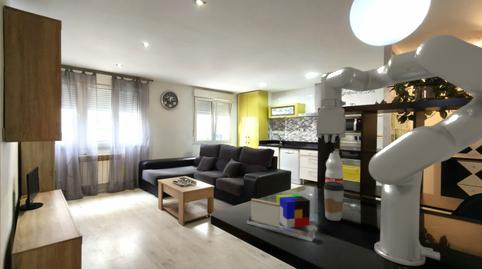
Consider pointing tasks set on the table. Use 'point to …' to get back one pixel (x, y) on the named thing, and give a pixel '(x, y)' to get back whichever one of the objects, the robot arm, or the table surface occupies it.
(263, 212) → the screen
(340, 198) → the coffee cup
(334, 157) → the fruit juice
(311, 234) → the rail
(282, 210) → the puzzle toy
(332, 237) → the table surface
